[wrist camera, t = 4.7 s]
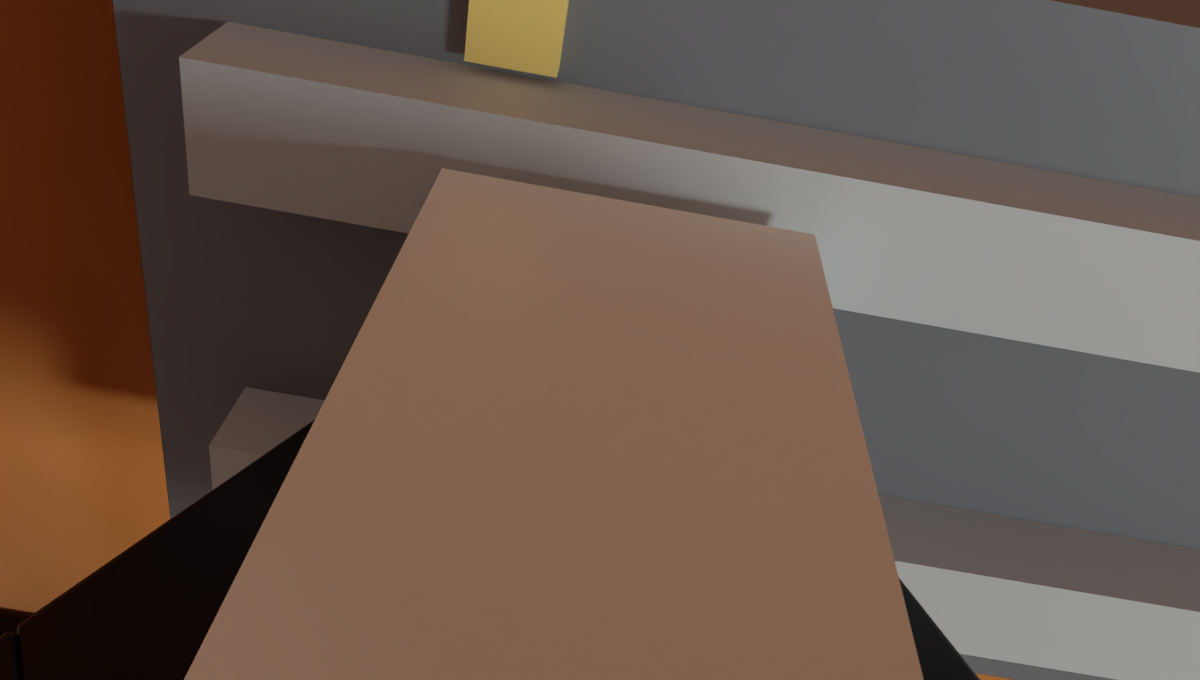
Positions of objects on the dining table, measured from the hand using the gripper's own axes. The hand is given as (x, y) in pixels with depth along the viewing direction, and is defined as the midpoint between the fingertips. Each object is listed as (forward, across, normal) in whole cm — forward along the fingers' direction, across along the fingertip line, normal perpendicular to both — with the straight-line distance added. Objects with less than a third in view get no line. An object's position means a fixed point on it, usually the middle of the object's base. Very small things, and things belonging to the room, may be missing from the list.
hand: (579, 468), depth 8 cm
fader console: (+4, -3, 0) cm, 5 cm away
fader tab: (+2, 0, 0) cm, 2 cm away
